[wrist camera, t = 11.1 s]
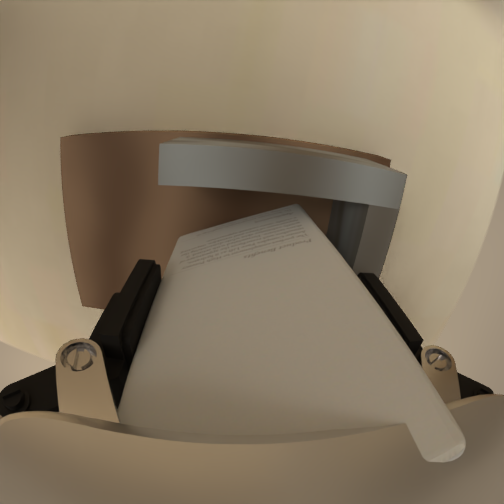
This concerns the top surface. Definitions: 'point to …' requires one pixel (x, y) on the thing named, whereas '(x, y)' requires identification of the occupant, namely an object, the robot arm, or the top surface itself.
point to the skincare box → (276, 343)
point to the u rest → (213, 197)
